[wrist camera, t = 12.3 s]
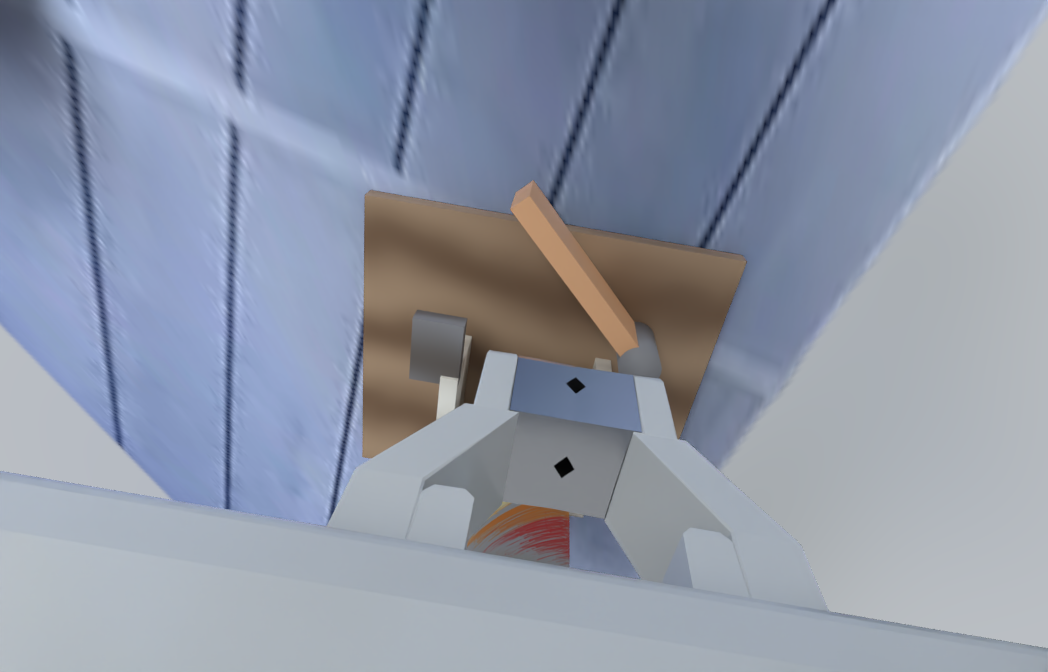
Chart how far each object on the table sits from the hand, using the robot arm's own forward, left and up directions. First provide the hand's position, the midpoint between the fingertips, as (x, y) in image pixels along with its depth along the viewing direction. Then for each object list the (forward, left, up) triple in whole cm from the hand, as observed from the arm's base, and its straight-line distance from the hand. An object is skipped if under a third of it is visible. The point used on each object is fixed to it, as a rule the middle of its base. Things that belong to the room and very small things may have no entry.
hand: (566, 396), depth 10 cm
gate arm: (+7, +2, -22) cm, 24 cm away
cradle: (+15, 0, -24) cm, 28 cm away
